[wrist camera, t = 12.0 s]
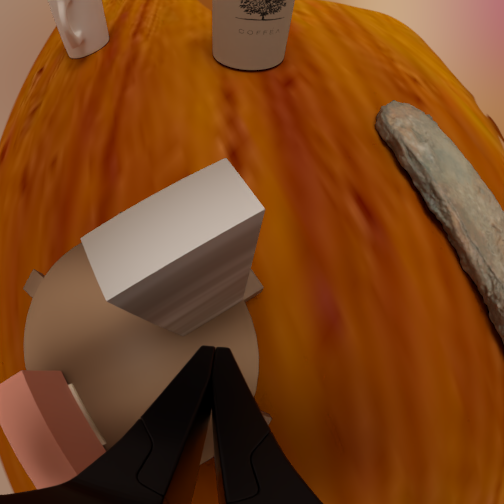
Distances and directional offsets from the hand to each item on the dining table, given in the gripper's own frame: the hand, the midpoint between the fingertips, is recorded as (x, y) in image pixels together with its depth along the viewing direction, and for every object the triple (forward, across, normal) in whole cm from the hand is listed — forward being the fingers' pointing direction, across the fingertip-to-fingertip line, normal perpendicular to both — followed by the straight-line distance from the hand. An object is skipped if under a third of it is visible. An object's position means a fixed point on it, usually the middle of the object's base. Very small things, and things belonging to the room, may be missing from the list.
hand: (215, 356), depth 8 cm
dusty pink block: (+1, +9, +9) cm, 13 cm away
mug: (+30, +22, -17) cm, 41 cm away
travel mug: (+28, 0, -15) cm, 32 cm away
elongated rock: (+13, -24, +1) cm, 27 cm away
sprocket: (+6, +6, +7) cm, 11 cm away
